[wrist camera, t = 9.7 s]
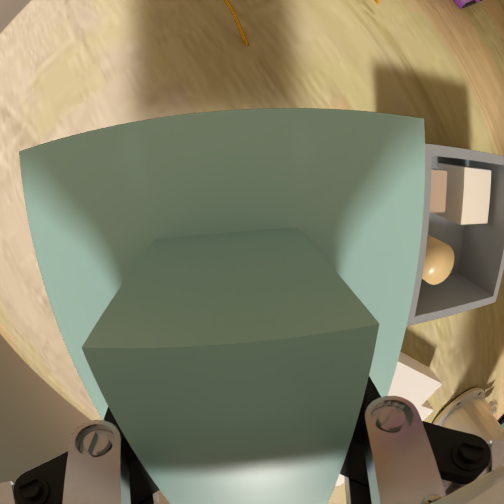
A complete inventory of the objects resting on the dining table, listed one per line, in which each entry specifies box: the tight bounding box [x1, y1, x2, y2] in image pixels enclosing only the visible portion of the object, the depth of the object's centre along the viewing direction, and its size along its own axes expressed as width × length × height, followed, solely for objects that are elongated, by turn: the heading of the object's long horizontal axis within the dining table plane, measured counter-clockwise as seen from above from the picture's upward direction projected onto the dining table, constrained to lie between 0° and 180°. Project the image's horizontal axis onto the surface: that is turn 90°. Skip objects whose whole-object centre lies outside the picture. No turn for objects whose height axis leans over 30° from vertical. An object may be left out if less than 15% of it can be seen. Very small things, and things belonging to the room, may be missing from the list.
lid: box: [19, 108, 425, 504], centre depth 8 cm, size 13×15×6 cm
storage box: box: [407, 144, 504, 326], centre depth 23 cm, size 12×14×7 cm
